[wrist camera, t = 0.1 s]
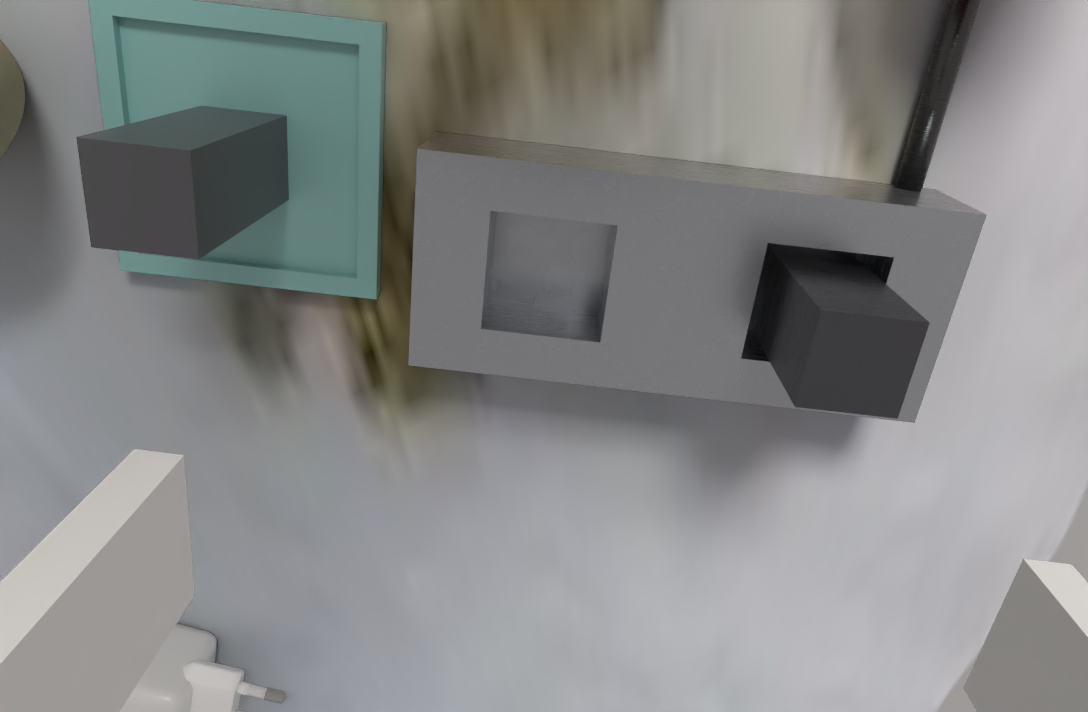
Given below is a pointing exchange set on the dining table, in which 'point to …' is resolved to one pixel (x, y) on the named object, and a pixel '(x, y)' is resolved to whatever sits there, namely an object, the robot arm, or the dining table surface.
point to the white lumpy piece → (192, 678)
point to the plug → (183, 179)
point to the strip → (693, 268)
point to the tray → (269, 87)
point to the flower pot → (10, 98)
